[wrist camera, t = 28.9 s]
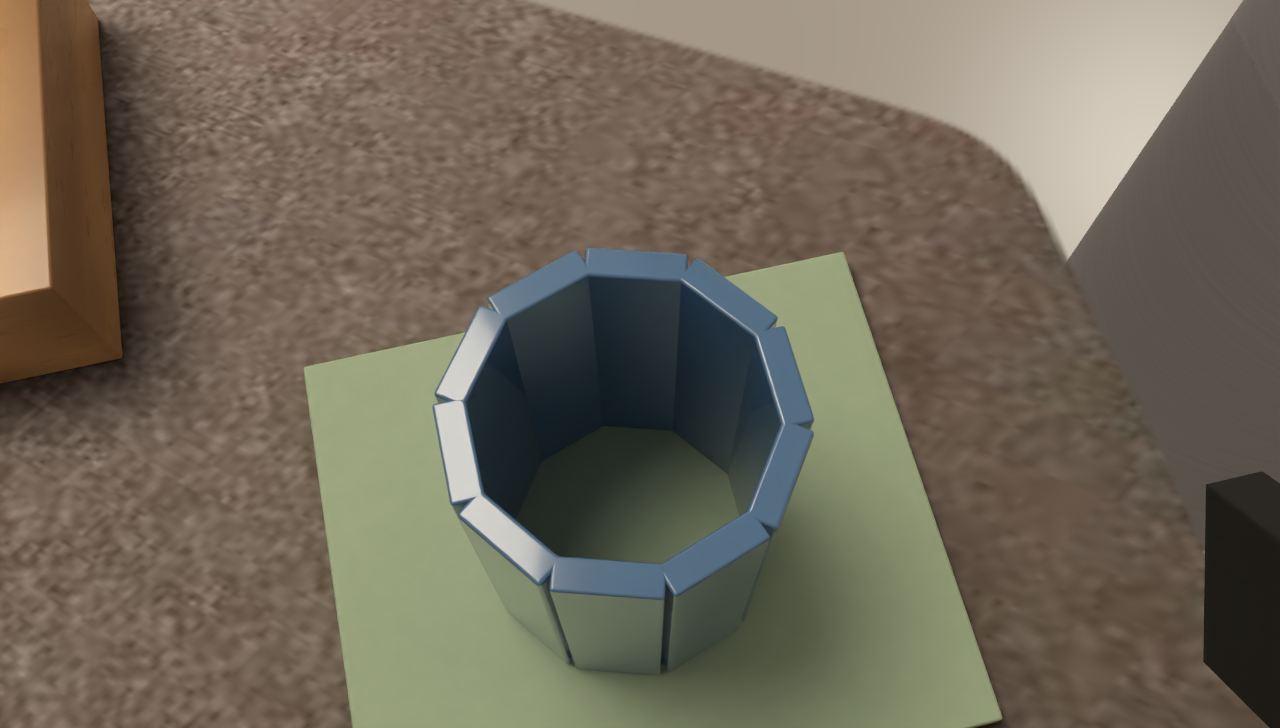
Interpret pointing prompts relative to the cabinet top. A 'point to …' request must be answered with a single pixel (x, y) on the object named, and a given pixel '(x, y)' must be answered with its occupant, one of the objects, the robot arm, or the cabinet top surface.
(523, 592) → the blue planter
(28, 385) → the cabinet top surface
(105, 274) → the wooden block
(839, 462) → the mat
